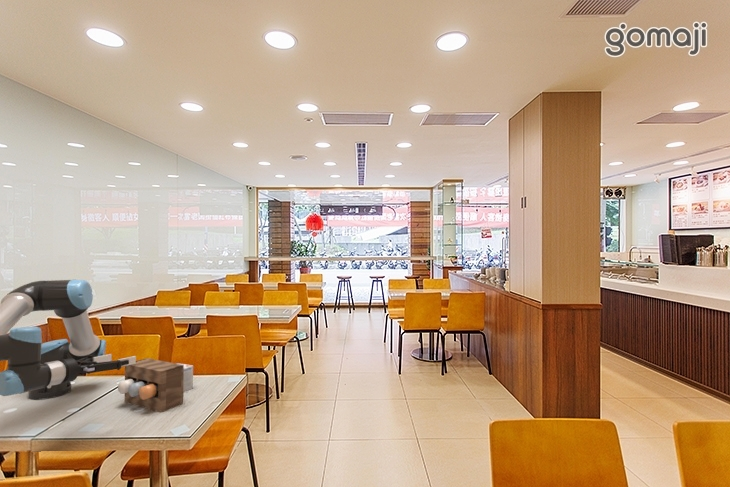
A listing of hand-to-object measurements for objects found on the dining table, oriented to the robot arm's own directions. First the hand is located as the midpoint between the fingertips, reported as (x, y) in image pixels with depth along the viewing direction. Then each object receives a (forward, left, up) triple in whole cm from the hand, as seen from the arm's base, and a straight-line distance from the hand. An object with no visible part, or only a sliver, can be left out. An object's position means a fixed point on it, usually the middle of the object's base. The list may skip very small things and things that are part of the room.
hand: (122, 358), depth 146 cm
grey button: (-6, +12, -18) cm, 22 cm away
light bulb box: (-11, +33, -24) cm, 42 cm away
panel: (-6, +17, -23) cm, 29 cm away
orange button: (+1, +12, -18) cm, 21 cm away
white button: (-13, +12, -18) cm, 25 cm away
